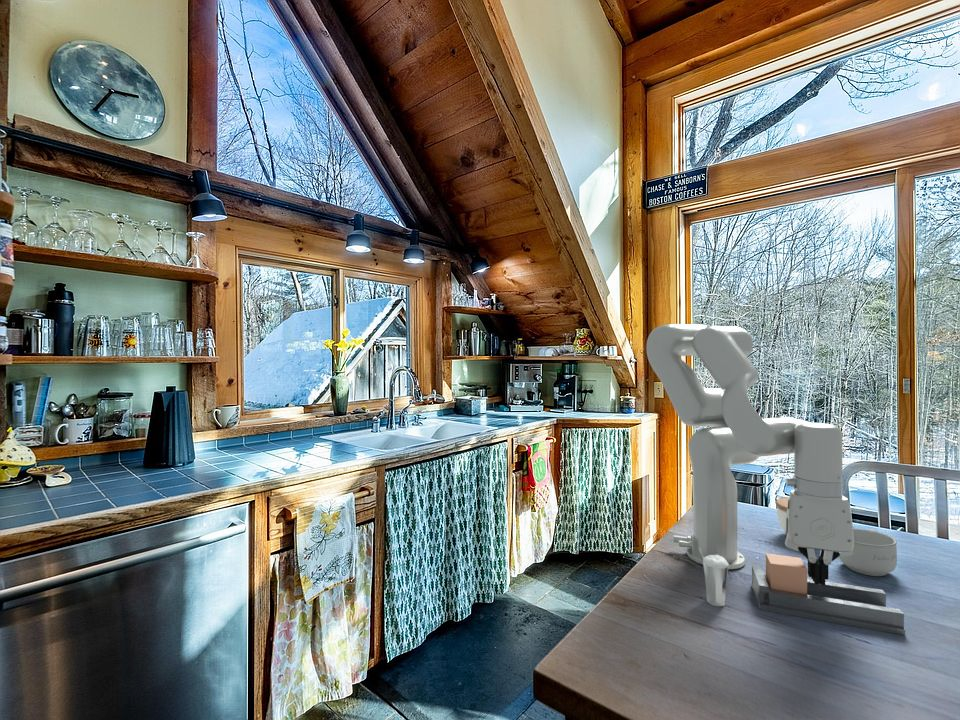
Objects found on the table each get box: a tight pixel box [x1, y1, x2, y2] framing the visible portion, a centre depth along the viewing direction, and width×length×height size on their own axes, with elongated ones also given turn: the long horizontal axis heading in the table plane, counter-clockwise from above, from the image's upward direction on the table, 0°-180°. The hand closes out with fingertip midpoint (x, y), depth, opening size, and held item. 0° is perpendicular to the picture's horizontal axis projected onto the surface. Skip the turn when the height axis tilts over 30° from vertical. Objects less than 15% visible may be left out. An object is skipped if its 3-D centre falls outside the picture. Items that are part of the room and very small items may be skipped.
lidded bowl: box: [775, 497, 789, 534], centre depth 123 cm, size 13×13×11 cm
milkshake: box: [699, 548, 729, 608], centre depth 92 cm, size 5×5×10 cm
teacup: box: [838, 528, 898, 577], centre depth 106 cm, size 14×11×8 cm
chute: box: [751, 565, 906, 636], centre depth 90 cm, size 22×10×4 cm, turn 68°
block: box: [765, 553, 808, 594], centre depth 92 cm, size 6×5×7 cm
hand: (817, 581), depth 90 cm, fingers closed
